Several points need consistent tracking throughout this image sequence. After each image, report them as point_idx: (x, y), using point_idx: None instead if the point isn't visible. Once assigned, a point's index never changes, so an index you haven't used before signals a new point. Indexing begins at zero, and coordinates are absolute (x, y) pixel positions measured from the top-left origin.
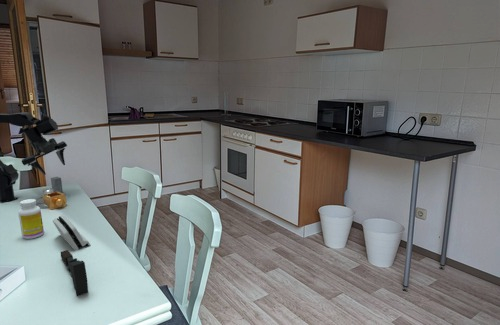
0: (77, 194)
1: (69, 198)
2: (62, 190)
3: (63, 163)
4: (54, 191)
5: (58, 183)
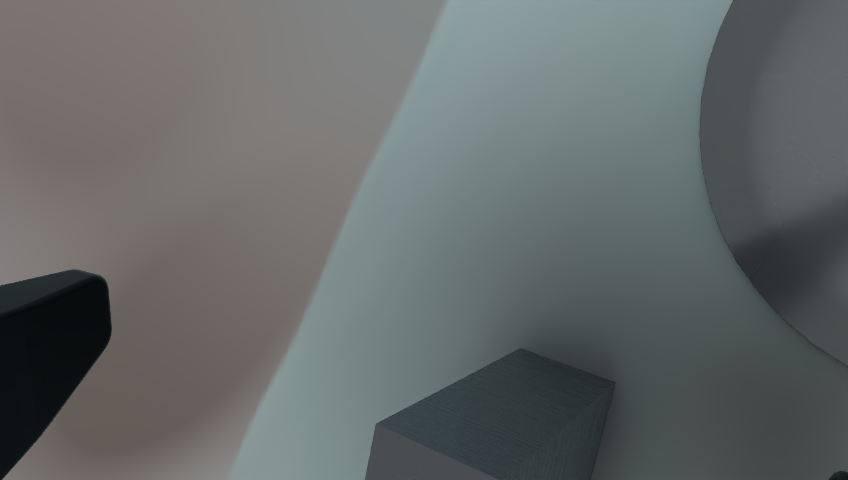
0: (452, 121)
1: (636, 55)
2: (499, 361)
3: (64, 300)
4: (582, 459)
5: (484, 418)
